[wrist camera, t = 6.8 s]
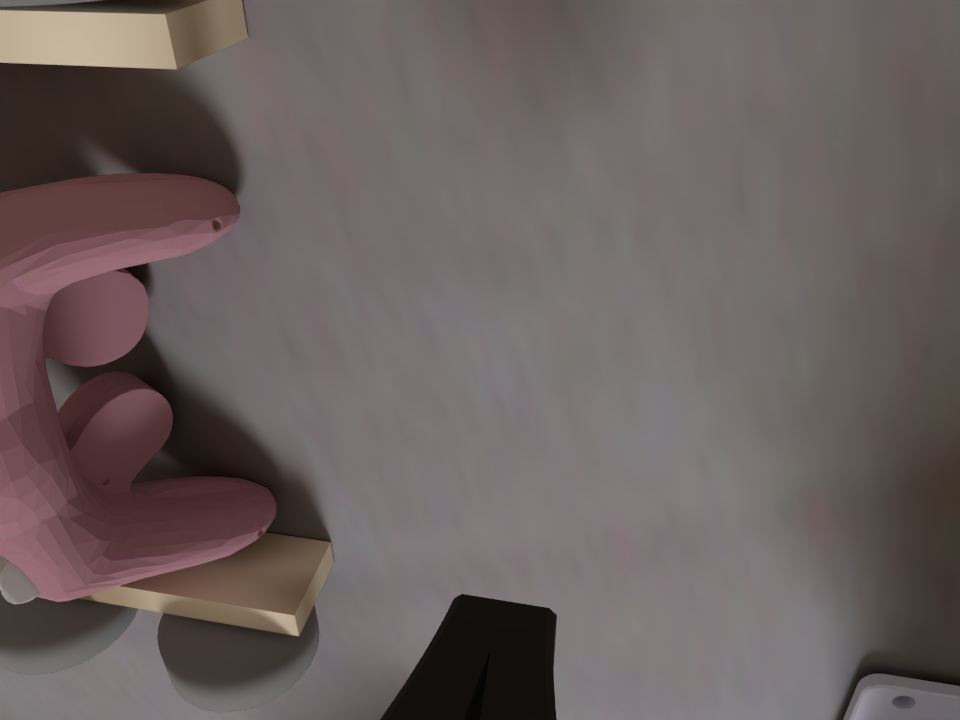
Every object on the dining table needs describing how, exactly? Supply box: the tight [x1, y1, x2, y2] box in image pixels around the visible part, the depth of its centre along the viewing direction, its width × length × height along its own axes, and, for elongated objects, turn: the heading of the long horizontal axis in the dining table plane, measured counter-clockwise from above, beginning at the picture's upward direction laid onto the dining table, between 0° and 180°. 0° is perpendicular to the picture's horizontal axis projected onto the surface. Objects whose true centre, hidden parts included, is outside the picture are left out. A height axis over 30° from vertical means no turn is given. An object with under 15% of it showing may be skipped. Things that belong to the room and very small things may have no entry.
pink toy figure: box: [0, 173, 277, 604], centre depth 17 cm, size 10×5×7 cm, turn 177°
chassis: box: [0, 0, 334, 712], centre depth 17 cm, size 12×18×4 cm
